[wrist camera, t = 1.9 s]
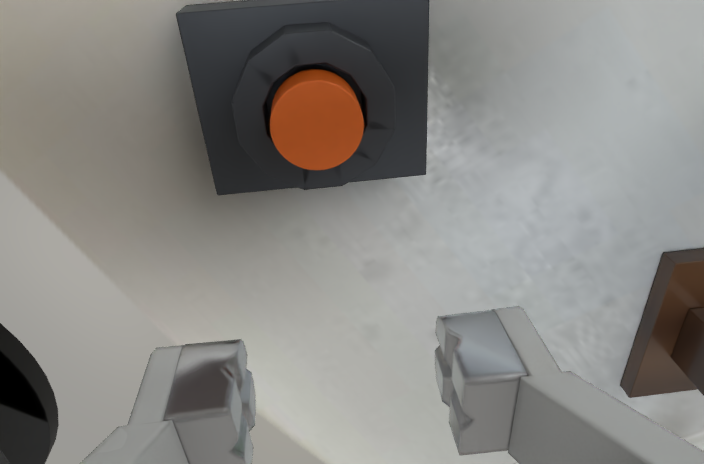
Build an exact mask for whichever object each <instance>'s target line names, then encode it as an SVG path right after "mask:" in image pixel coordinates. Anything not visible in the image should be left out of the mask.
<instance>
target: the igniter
mask: <svg viewBox="0 0 704 464" xmlns="http://www.w3.org/2000/svg"><path fill="white" fill-rule="evenodd" d="M363 131H364V119H363V114H362V111H361V108H360V105H359V102H358V100H357V97H356V95H355V93H354V91H353V89H352V88H351V86H350V85H349V84H348V83H347V82H346V81H345V80H344V79H343V78H341V77H340V76H338V75H337V74H335V73H332V72H330V71H326V70H322V69H309V70H304V71H300V72H298V73H296V74H294V75H292V76H290V77H289V78H288V79H286V80H285V81H284V82H283V83H282V84H281V85H280V87H279V88H278V90H277V91H276V93H275V95H274V98H273V102H272V107H271V116H270V133H271V137H272V140H273V143H274V145H275V147H276V148H277V150H278V151H279V153H280V154H281V155H282V156H283V157H284V158H285V159H286V160H288V161H289V162H291V163H292V164H294V165H296V166H298V167H301V168H304V169H308V170H326V169H330V168H333V167H336V166H338V165H340V164H342V163H343V162H345V161H346V160H347V159H349V158H350V157H351V156H352V155H353V153H354V152H355V151H356V149H357V148H358V146H359V144H360V142H361V139H362V136H363Z"/></svg>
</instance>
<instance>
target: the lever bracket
mask: <svg viewBox="0 0 704 464" xmlns="http://www.w3.org/2000/svg"><path fill="white" fill-rule="evenodd" d="M621 387H622V388H623V390H624V391H625V392H626V394H627V395H628V397H629V398H632V397H640V396H648V395H656V394H664V393H672V392H680V391H688V390H696V389H698V390H699V391H700V392H701V393H702V394H703V395H704V249H695V250H685V251H676V252H667V253H663V256H662V259H661V262H660V265H659V268H658V271H657V274H656V277H655V280H654V283H653V286H652V289H651V293H650V296H649V299H648V302H647V305H646V308H645V311H644V314H643V317H642V320H641V323H640V327H639V330H638V333H637V336H636V339H635V342H634V345H633V348H632V351H631V354H630V357H629V360H628V364H627V367H626V370H625V373H624V376H623V379H622V382H621Z"/></svg>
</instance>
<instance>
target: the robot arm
mask: <svg viewBox="0 0 704 464" xmlns="http://www.w3.org/2000/svg"><path fill="white" fill-rule="evenodd" d="M436 336H437V339H438V341H439V344H440V345H439V346H438V348H437V349H436V350H435V370H436V379H437V383H438V388H439V392H440V395H441V398H442V402H444V403H445V404H446V405H448V406H449V407H450V412H449V424H450V427H451V430H452V433H453V436H454V439H455V443H456V446H457V449H458V452H459V455H468V454H478V453H487V452H497V451H507V450H508V453H509V454H510V455H511V456H512V457H513V458H514V459H515V460H516V461H517V462H518V463H519V464H704V451H702V450H700V449H699V448H697V447H695V446H694V445H692V444H690V443H689V442H687V441H685V440H684V439H682V438H680V437H679V436H677V435H675V434H674V433H672V432H670V431H669V430H667V429H665V428H664V427H662V426H660V425H659V424H657V423H655V422H654V421H652V420H650V419H649V418H647V417H646V416H644V415H642V414H641V413H639V412H637V411H636V410H634V409H632V408H631V407H629V406H627V405H626V404H624V403H622V402H621V401H619V400H617V399H616V398H614V397H612V396H611V395H609V394H607V393H606V392H604V391H602V390H601V389H599V388H597V387H596V386H594V385H592V384H591V383H589V382H587V381H586V380H584V379H582V378H581V377H579V376H577V375H576V374H574V373H572V372H571V371H568V372H561V370H560V368H559V367H558V365H557V363H556V362H555V360H554V358H553V357H552V355H551V354H550V352H549V350H548V349H547V347H546V345H545V344H544V342H543V340H542V339H541V337H540V336H539V334H538V332H537V331H536V329H535V327H534V326H533V324H532V322H531V321H530V319H529V317H528V316H527V314H526V313H525V311H524V309H523V308H521V307H520V306H514V307H506V308H499V309H492V310H486V311H477V312H469V313H461V314H453V315H445V316H438V317H437V321H436ZM246 363H247V352H246V348H245V345H244V341H242V340H241V339H239V340H228V341H217V342H206V343H195V344H185V345H181V346H170V347H159V348H156V349H155V350H154V351H153V352H152V354H151V355H150V358H149V362H148V364H147V367H146V370H145V374H144V376H143V379H142V383H141V386H140V389H139V392H138V395H137V398H136V401H135V404H134V407H133V410H132V413H131V416H130V419H129V422H128V425H127V426H121V427H117V428H116V429H115V430H114V431H113V432H112V433H111V434H110V435H109V436H108V437H107V438H106V439H105V440H104V441H103V442H102V443H101V444H100V445H99V446H98V447H96V448H95V449H94V450H93V451H92V452H91V453H90V454H89V455H88V456H87V457H86V458H85V459H84V460H83V461H82V462H81V463H80V464H252V458H253V457H252V456H253V444H252V440H251V436H250V433H249V432H250V430H251V429H252V428H253V427H254V426H255V415H256V400H255V388H254V381H253V377H252V373H251V372H250V371H249V370H247V369H246Z"/></svg>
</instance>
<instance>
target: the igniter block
mask: <svg viewBox="0 0 704 464" xmlns="http://www.w3.org/2000/svg"><path fill="white" fill-rule="evenodd" d="M176 17H177V22H178V26H179V30H180V35H181V39H182V43H183V48H184V52H185V56H186V61H187V65H188V70H189V74H190V78H191V83H192V87H193V91H194V96H195V100H196V105H197V109H198V113H199V118H200V122H201V126H202V131H203V135H204V140H205V144H206V148H207V153H208V157H209V161H210V166H211V170H212V174H213V179H214V183H215V188H216V192H217V195H226V194H236V193H246V192H257V191H267V190H277V189H287V188H297V187H298V188H301V189H304V190H307V189H317V188H327V187H337V186H343V185H345V184H346V183H348V182H357V181H367V180H377V179H387V178H397V177H408V176H418V175H426V149H427V97H428V44H429V0H246V1H233V2H221V3H208V4H196V5H186V6H185V7H184V8H182V9H181V10H180V11H179V12H177V13H176ZM309 69H322V70H326V71H330V72H332V73H335V74H337V75H338V76H340V77H341V78H343V79H344V80H345V81H346V82H347V83H348V84H349V85H350V86H351V88H352V89H353V91H354V93H355V95H356V97H357V100H358V102H359V105H360V108H361V111H362V114H363V119H364V131H363V136H362V139H361V142H360V144H359V146H358V148H357V149H356V151H355V152H354V153H353V155H352V156H351V157H350V158H349V159H347V160H346V161H345V162H343V163H342V164H340V165H338V166H336V167H333V168H330V169H326V170H308V169H304V168H301V167H298V166H296V165H294V164H292V163H291V162H289V161H288V160H286V159H285V158H284V157H283V156H282V155H281V154H280V153H279V151H278V150H277V148H276V147H275V145H274V143H273V140H272V137H271V133H270V116H271V107H272V102H273V98H274V95H275V93H276V91H277V90H278V88H279V87H280V85H281V84H282V83H283V82H284V81H285V80H286V79H288V78H289V77H290V76H292V75H294V74H296V73H298V72H300V71H304V70H309Z"/></svg>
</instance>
